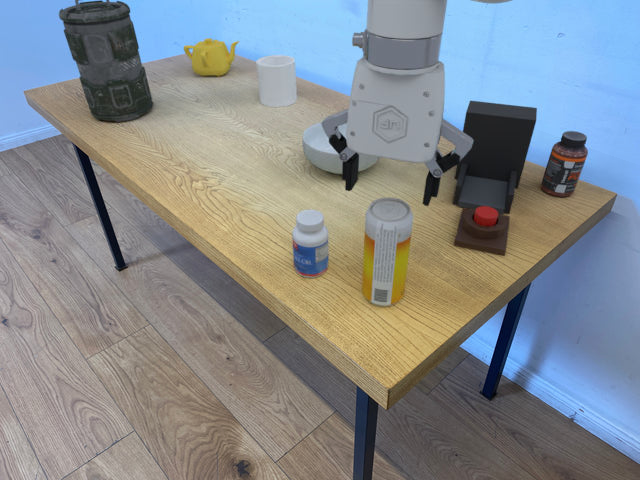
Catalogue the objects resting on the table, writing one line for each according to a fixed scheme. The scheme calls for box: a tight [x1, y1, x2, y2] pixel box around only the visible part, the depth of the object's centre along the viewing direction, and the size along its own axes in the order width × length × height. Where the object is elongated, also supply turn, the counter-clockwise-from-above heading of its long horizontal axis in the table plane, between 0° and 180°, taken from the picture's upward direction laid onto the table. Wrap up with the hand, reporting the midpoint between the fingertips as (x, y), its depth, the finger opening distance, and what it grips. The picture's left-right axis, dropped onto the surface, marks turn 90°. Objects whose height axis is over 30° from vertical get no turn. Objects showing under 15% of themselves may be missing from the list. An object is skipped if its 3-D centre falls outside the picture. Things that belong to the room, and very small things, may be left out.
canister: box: [58, 0, 154, 123], centre depth 118 cm, size 16×16×28 cm
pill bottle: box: [291, 208, 330, 279], centre depth 71 cm, size 6×5×10 cm
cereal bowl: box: [301, 121, 381, 176], centre depth 98 cm, size 17×17×7 cm
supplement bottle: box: [540, 130, 589, 198], centre depth 87 cm, size 6×6×11 cm
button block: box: [453, 207, 511, 256], centre depth 79 cm, size 8×10×3 cm
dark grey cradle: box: [452, 100, 538, 215], centre depth 87 cm, size 12×16×14 cm
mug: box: [256, 54, 298, 108], centre depth 128 cm, size 14×10×11 cm
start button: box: [474, 206, 498, 227], centre depth 78 cm, size 4×4×2 cm
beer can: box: [361, 196, 414, 307], centre depth 64 cm, size 6×6×15 cm
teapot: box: [183, 37, 240, 77], centre depth 147 cm, size 14×13×10 cm
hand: (388, 192), depth 58 cm, fingers open, 9 cm apart
